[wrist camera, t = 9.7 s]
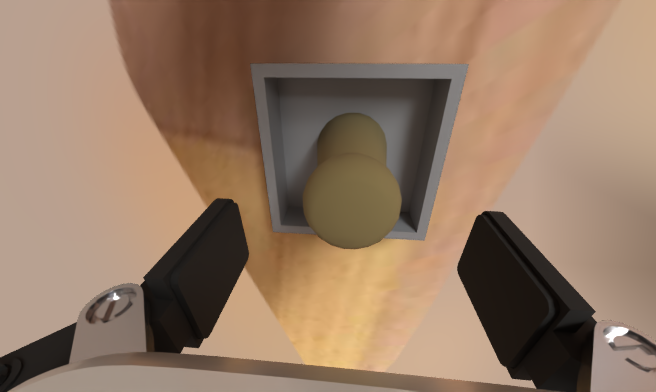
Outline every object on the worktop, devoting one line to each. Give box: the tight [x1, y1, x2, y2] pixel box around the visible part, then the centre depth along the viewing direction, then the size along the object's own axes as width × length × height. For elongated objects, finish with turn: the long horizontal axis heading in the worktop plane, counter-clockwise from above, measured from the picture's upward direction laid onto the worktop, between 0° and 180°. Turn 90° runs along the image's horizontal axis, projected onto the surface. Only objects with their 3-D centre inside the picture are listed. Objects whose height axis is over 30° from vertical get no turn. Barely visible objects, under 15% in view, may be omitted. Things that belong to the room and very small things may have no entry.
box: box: [250, 63, 469, 241], centre depth 20 cm, size 14×14×4 cm
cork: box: [303, 113, 402, 249], centre depth 16 cm, size 6×6×11 cm
